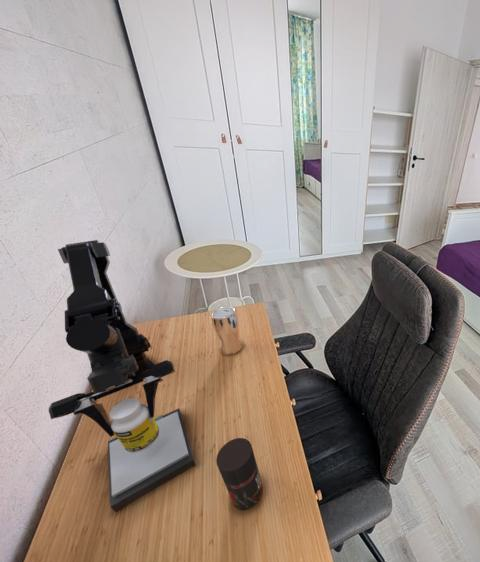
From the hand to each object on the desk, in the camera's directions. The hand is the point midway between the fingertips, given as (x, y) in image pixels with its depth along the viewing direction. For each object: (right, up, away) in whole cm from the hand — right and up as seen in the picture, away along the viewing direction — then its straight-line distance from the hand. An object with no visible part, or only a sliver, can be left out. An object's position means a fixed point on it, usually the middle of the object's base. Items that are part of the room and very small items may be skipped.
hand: (133, 426), depth 57 cm
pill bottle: (-1, -5, +4) cm, 7 cm away
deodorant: (+22, -15, +2) cm, 27 cm away
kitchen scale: (-2, -10, +7) cm, 13 cm away
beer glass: (+1, +7, +37) cm, 38 cm away
